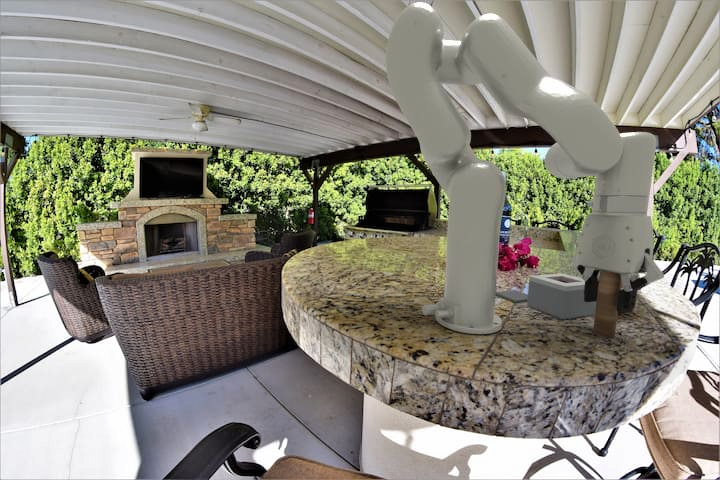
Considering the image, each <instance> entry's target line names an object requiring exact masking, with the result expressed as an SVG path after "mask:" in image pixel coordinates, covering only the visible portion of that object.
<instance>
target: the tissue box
mask: <svg viewBox="0 0 720 480" xmlns="http://www.w3.org/2000/svg"><path fill="white" fill-rule="evenodd" d="M528 278H529V280H528V289H527V290H528V292H527V294H528V300H527V303H526V306H528V307H531V308H533V309H536V310H538V311H540V312H543V313H545V314H549V315H551V316H553V317H555V318H558V319H561V320H566V319H567V320H568V319H574V318H580V317H588V316H595V310H596V302H597V301H594V302H585V301H584V286H585V281H584V280H583V279H582V277H578V276H573V275H569V274H566V273H561V272H560V273H552V274H551V273H550V274H539V275H529V277H528Z"/></svg>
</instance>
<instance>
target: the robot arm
mask: <svg viewBox="0 0 720 480" xmlns="http://www.w3.org/2000/svg"><path fill="white" fill-rule="evenodd" d="M444 28H445V27H444V24H443V20H442V18H441V17H440V14H439V13H438V12H437V11H436V9H435V8H434V7H433V6H431V5H430V4H428V3H426V2H421V1H420V2H419V1H418V2H413V3H411V4H409V5H407V7H405V8H404V9H403V10H402V11H401V13H400V14H399V15H398V17H397V18H396V20H395V21H394V23H393V26H392V28H391V30H390V33H389V37H388V40H387V44H386V51H385V65H386V66H385V68H386V74H387V75H386V77H387V80H388V81H387V82H388V84H389V87H390V90H391V92H392V95H393V96H394V99H395V101H396V103H397V105H398V107H399V109H400V110H401V112H402V114H403V116H404V117H405V119H406V121H407V123H408V124H409V126H410V127H411V129H412V131H413V133H414V135H415V136H416V138H417V140H418V142H419V146H420V152H421V155H422V158H423V160H424V161H425V164H427V166H428V168H429V170H430V171H431V173H432V174H433V176H434V178H435V179H436V181H437V182H438V184H439V186H440V188H442V190H443V191H444V193H445V195H446V196H447V197H448V199H449V202H448V203H449V204H448V206H449V207H448V219H447V231H446V254H445V255H446V256H445V274H444V278H445V279H444V280H445V281H444V295H443V297H439V301H438V302H436V303H435V304H424V305H422V307H421V312H422V313H421V314H423V316H431V315H434V317H435V320H436V323H439V325H441V326H442V327H445V328H447V329H450V330H452V331H454V332H455V331H456V332H459V333H463V334H471V335H489V334H493V333H497V332H499V331H500V330H501V329H502V327H503V320H502V318H501V317H500V316H499V315H498V314H496V313H495V306H496V305H495V304H496V303H495V302H496V295H495V293H496V292H497V278H498V263H499V252H500V251H499V249H500V247H499V246H500V238H501V237H500V236H501V235H500V234H501V225H502V224H501V223H502V217H503V212H504V206H505V201H506V192H507V183H506V178H505V175H504V173H503V171H502V169H500V168H499V166H497V165H496V163H494V162H491V161H490V160H487V159H486V160H485V159H478V157H477V155H476V154H475V152H474V150H473V149H472V147H471V145H470V144H471V139H472V132H471V129H470V126H469V124H468V123H467V121H466V119H464V117H463V116H462V114H461V113H460V112H459V110H458V108H457V107H456V104H454V102H453V100H452V99H451V97H450V96H449V94H448V93H447V91H446V89H445V87H444V85H455V86H475V85H480V84H481V85H482V86H483V87H484V88H485V90H486V91H487V92H488V93H489V96H491V97H492V98H493V100H494V101H495V103H496V104H498V106H499V107H500V108H501V109H502V111H503V112H505V113H506V114H508V115H511V116H513V117H517V118H522V119H526V120H529V121H531V122H533V123H535V124H537V125H538V126H539V127H541V128H542V129H543V130H545V132H546V133H548V134H549V135H550V136H551V137H552V138H553V140H554V141H555V143H554V144H552V146H551V147H550V148H549V149H548V150H547V152H546V153H545V156H544V165H545V168H546V170H547V171H548V172H549V173H550V174H551V175H553V176H555V177H557V178H559V179H566V180H567V179H568V180H569V179H577V178H584V177H595V181H594V182H595V183H594V193H593V196H592V199H590V200H588V201H587V204H586V205H587V207H588V208H591V211H592V212H591V213H587V214H586V216H585V218H584V221H583V223H582V226H581V227H582V228H581V230H580V234H579V239H578V244H577V250H576V253H574V255H572V257H571V258H570V262H571V263H572V264H573V265H574V267H575V268H577V271H578V272H579V273H580V275H581V278H582V279H583V280H584V281H585V286H584V301H585V302H594V301H597V293H598V285H599V280H598V277H599V275H600V270H604V271H609V272H613V273H618V274H621V279H622V284H623V288H622V289H621V290H620V291H619V295H618V303H617V311H618V313H620V314H626V313H632V312H633V310H634V309H635V307H636V303H637V295H638V291H641V290H642V289H644V288H645V287H647V286H648V285H651V284H652V283H655V282H657V281H659V280H662V279H664V277H665V274H664V273H663V272H662V270H661V269H660V267H659V266H658V265H657V263H656V262H655V261H654V259H653V255H654V227H653V221H652V216H650V215H648V209H649V203H650V195H651V187H652V178H653V171H654V166H655V165H654V164H655V159H656V158H655V156H656V150H657V137H656V136H655V135H654V134H652V133H651V132H647V131H644V132H643V131H636V132H633V131H631V132H622V133H620V132H619V130H618V128H617V127H616V125H615V124H614V122H613V121H612V120H611V119H610V118H609V117H608V115H607V114H606V112H604V110H603V109H602V107H600V106H599V104H598V103H597V102H596V101H595V100H594V99H592V97H590V96H589V95H587V94H586V93H584V92H583V91H582V90H580V89H578V88H576V87H575V86H572V85H571V84H569V83H567V82H565V81H563V80H561V79H560V78H557V77H555V76H553V75H551V74H550V73H549V72H548V71H547V70H546V69H545V68H544V66H543V65H542V64H541V62H540V61H539V60H538V59H537V58H536V57H535V55H534V54H533V53H532V51H530V49H529V48H528V47H527V45H525V43H524V42H523V40H522V39H521V37H519V35H518V34H517V33H516V32H515V31H514V29H512V27H511V26H510V25H509V23H508V22H506V20H505V19H504V18H502V17H501V16H500V15H498V14H495V13H484V14H482V15H479V16H478V17H476V18H475V19H474V20H473V21H472V22H470V24H469V25H468V26H467V27H466V29H465V30H464V32H463V34H462V36H461V39H460V40H448V39H447V40H446V39H445V29H444ZM640 274H645V275H644V276H642V277H640Z"/></svg>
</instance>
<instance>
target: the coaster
mask: <svg viewBox="0 0 720 480" xmlns="http://www.w3.org/2000/svg"><path fill="white" fill-rule="evenodd" d="M495 296H497V297H499V298H501V299H504V300H507V301H508V302H511V303H514V304H520V303H526V302H527V300H528V293H525V292H522V291H519V290H515V289H512V290H504V291H503V290H502V291H496V293H495Z"/></svg>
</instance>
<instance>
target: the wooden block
mask: <svg viewBox="0 0 720 480" xmlns="http://www.w3.org/2000/svg"><path fill="white" fill-rule="evenodd" d="M621 283H622V279H621V274H618V273H613V272H609V271H604V270H600V276H599V285H598V293H597V302H596V310H595V315H594V319H593V320H594V321H593V329H592V331H593V333H594V335H597V336H600V337H605V338H614V337H616V329H617V322H618V313H619V312H618V311H617V303H618V295H619V291H620V290H622V288H621Z"/></svg>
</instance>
